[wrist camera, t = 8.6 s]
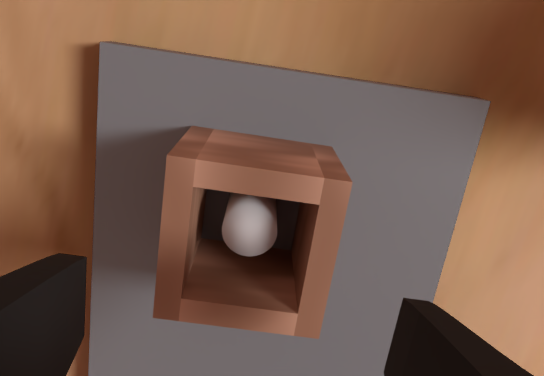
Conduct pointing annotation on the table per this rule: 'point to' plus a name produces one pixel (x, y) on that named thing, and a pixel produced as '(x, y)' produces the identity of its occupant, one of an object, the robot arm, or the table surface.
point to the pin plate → (285, 107)
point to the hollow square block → (249, 269)
